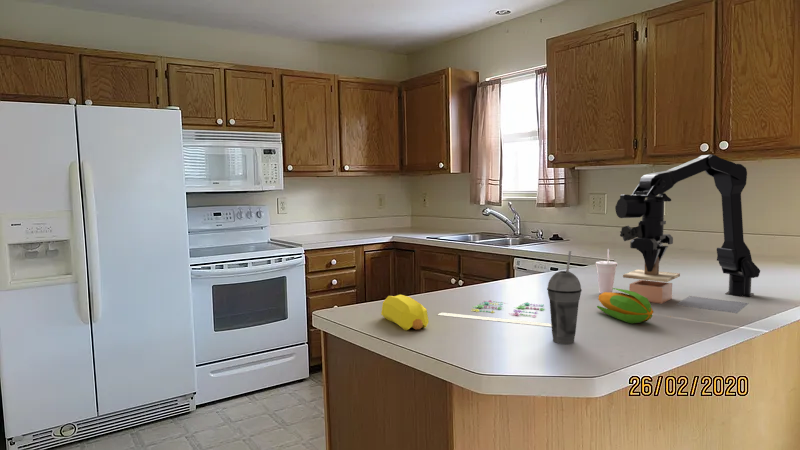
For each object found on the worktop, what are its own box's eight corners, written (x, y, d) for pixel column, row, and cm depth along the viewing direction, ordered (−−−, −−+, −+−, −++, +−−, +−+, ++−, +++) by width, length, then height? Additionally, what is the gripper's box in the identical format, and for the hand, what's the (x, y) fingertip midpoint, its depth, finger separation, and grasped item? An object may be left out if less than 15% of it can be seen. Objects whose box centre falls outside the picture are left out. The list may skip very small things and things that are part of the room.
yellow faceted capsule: (405, 335, 125) (434, 331, 129) (404, 306, 125) (434, 303, 128) (377, 317, 142) (403, 314, 145) (376, 292, 141) (403, 289, 144)
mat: (689, 297, 161) (689, 295, 161) (748, 304, 151) (748, 303, 151) (674, 306, 150) (674, 304, 150) (736, 314, 140) (736, 313, 140)
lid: (637, 271, 165) (637, 253, 165) (679, 276, 157) (680, 256, 157) (622, 277, 157) (623, 257, 156) (667, 282, 148) (667, 261, 148)
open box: (639, 295, 164) (640, 279, 163) (671, 300, 158) (672, 283, 157) (629, 300, 157) (629, 284, 157) (661, 305, 151) (662, 287, 151)
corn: (636, 297, 127) (587, 282, 147) (633, 328, 128) (585, 309, 147) (662, 297, 129) (611, 282, 148) (659, 328, 130) (608, 309, 149)
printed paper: (437, 316, 143) (437, 310, 143) (471, 296, 170) (471, 291, 170) (552, 328, 130) (552, 322, 130) (570, 304, 157) (570, 299, 157)
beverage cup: (541, 336, 122) (542, 249, 120) (572, 335, 122) (574, 248, 121) (553, 346, 115) (554, 253, 113) (586, 345, 115) (588, 253, 114)
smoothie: (618, 295, 165) (619, 250, 163) (596, 294, 166) (597, 249, 165) (614, 291, 171) (615, 247, 170) (593, 290, 172) (594, 247, 171)
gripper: (635, 214, 168) (634, 264, 169) (612, 218, 154) (611, 272, 155) (674, 215, 160) (672, 267, 161) (653, 219, 147) (652, 276, 148)
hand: (651, 270), depth 157 cm, fingers closed on lid, 3 cm apart
